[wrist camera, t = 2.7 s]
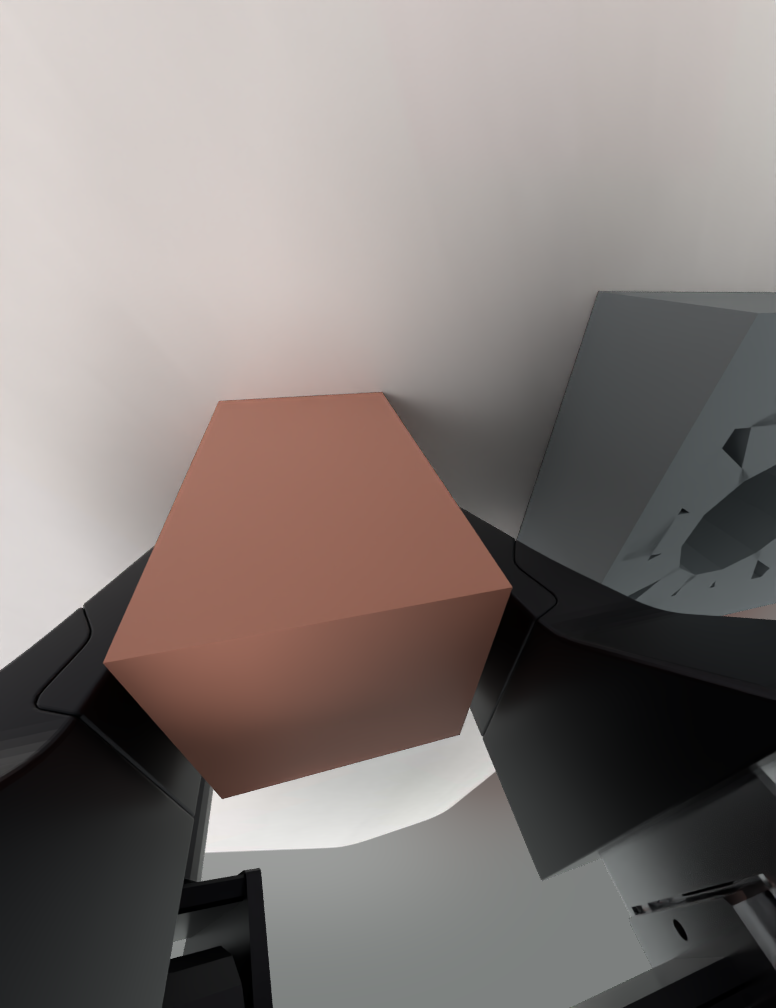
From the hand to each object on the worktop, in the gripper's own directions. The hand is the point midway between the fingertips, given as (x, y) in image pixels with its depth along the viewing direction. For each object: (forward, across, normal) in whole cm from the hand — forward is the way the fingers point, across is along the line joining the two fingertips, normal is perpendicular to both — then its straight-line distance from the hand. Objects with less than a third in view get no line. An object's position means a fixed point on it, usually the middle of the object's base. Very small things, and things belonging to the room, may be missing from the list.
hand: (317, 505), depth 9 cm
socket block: (+2, -17, +1) cm, 17 cm away
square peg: (+2, 0, 0) cm, 2 cm away
